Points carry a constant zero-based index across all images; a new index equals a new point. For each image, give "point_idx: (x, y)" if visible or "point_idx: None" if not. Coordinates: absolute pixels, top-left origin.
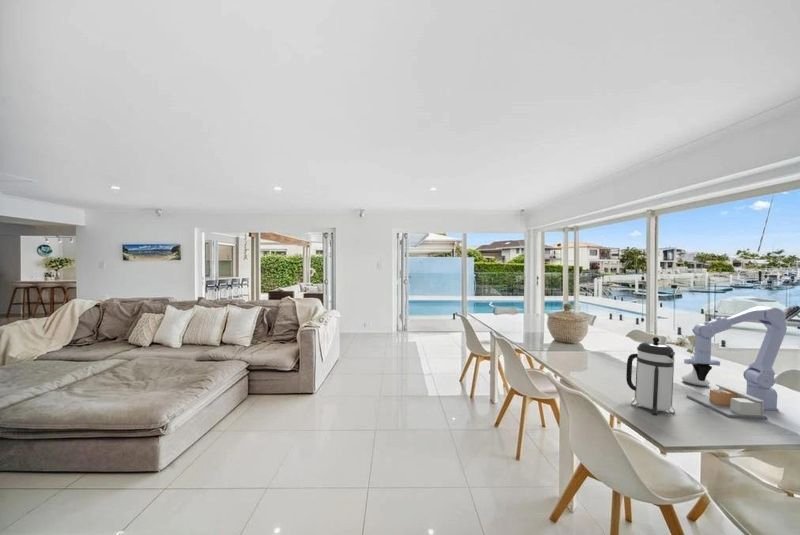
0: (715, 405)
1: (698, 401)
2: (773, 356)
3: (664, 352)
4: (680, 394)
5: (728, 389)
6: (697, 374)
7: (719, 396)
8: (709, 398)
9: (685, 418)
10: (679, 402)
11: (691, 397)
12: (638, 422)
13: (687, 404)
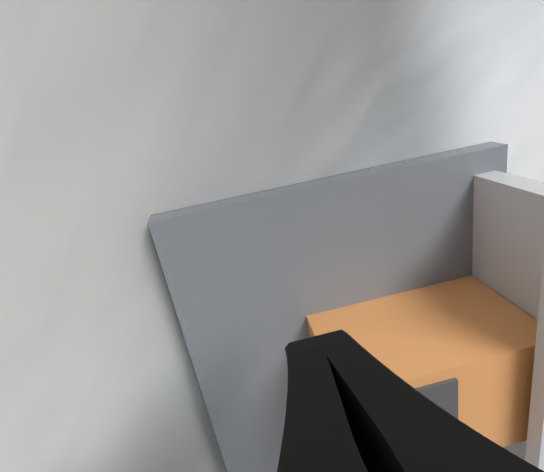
0: (278, 430)
1: (193, 357)
2: None
3: None
4: (118, 128)
5: (541, 405)
6: (292, 434)
7: None
8: (310, 328)
9: None
10: (10, 410)
11: (168, 284)
12: None
13: (69, 430)
